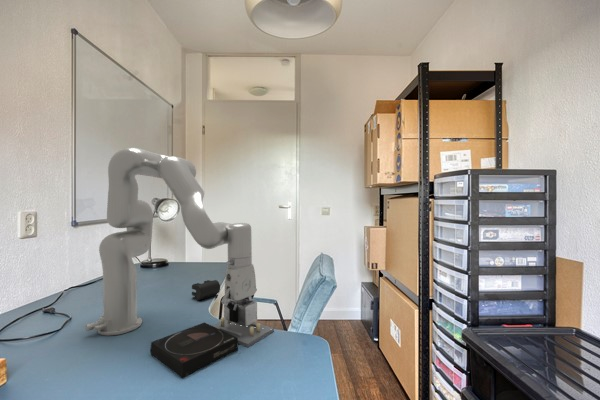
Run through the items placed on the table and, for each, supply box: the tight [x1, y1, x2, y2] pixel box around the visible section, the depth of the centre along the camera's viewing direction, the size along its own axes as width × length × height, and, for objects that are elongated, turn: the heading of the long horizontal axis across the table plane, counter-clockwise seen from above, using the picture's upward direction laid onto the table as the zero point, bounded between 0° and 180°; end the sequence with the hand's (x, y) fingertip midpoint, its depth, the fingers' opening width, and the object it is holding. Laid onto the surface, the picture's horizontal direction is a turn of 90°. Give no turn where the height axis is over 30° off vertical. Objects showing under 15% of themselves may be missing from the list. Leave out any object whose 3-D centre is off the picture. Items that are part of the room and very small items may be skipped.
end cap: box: [191, 279, 221, 302], centre depth 126 cm, size 10×7×7 cm
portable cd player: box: [149, 322, 239, 379], centre depth 81 cm, size 16×17×4 cm
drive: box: [223, 299, 258, 327], centre depth 93 cm, size 5×10×6 cm, turn 54°
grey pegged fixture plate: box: [212, 316, 275, 348], centre depth 93 cm, size 12×18×4 cm, turn 57°
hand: (240, 317), depth 93 cm, fingers closed on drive, 5 cm apart
